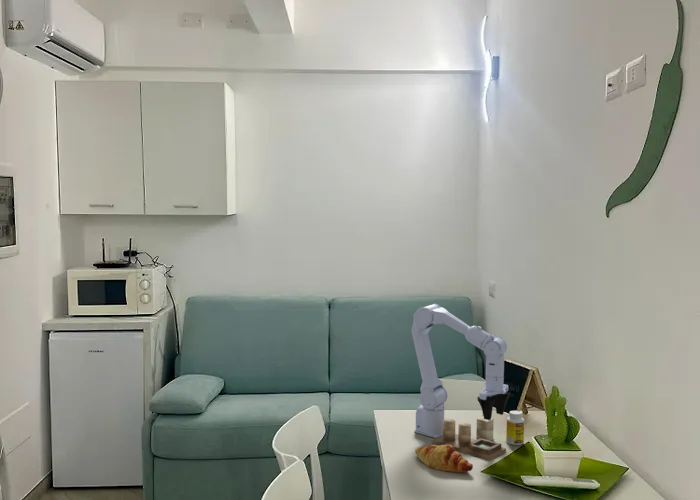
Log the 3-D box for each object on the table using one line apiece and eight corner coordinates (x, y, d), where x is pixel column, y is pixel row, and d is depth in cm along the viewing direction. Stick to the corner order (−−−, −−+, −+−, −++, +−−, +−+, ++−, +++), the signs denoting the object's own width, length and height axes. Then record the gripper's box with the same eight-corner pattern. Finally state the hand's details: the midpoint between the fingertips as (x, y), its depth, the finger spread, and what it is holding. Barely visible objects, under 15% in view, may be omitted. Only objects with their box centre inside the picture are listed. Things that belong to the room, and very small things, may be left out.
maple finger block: (475, 439, 219) (475, 418, 218) (481, 436, 222) (482, 415, 221) (486, 442, 216) (487, 421, 215) (493, 439, 219) (493, 418, 218)
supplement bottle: (515, 447, 212) (516, 416, 211) (502, 441, 216) (503, 411, 216) (527, 443, 215) (527, 413, 214) (514, 438, 219) (515, 408, 219)
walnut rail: (432, 442, 215) (432, 422, 215) (449, 435, 222) (449, 415, 222) (489, 460, 200) (489, 437, 200) (506, 451, 208) (506, 429, 207)
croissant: (410, 469, 202) (402, 450, 199) (427, 447, 208) (420, 428, 205) (467, 488, 187) (459, 468, 184) (484, 463, 193) (477, 443, 190)
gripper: (493, 382, 203) (492, 424, 204) (517, 373, 214) (516, 414, 215) (474, 377, 208) (473, 419, 209) (498, 369, 219) (497, 409, 220)
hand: (493, 416), depth 212 cm, fingers open, 7 cm apart
